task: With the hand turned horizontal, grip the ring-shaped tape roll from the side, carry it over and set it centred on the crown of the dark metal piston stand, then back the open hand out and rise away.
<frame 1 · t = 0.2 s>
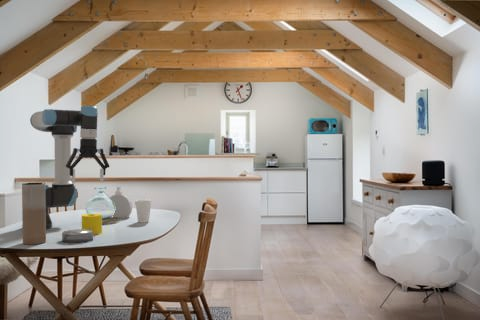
hand: (87, 182, 219), 28 cm above the table, tool pointing down, fingers open, 13 cm apart
tape roll: (91, 233, 236), on the table
vase: (34, 243, 212), on the table
foam cup: (143, 222, 271), on the table
piston stand: (77, 239, 218), on the table
soap bottle: (118, 217, 288), on the table
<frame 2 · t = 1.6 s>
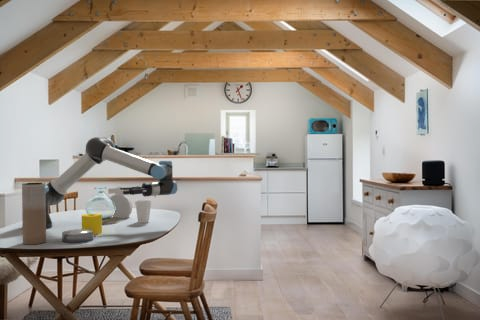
hand: (112, 192, 241), 21 cm above the table, tool horizontal, fingers open, 13 cm apart
nothing on the table moved.
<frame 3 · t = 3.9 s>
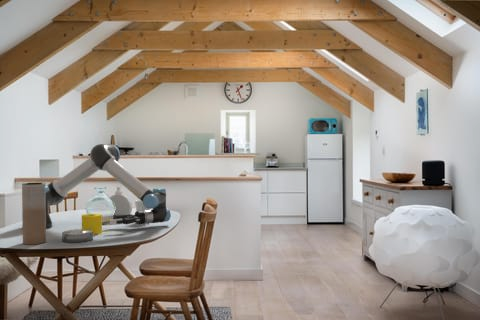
hand: (105, 220, 239), 6 cm above the table, tool horizontal, fingers open, 13 cm apart
nothing on the table moved.
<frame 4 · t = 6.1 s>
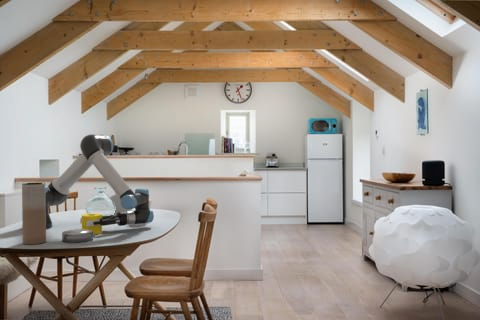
hand: (83, 222, 233), 6 cm above the table, tool horizontal, fingers closed on tape roll, 10 cm apart
tape roll: (91, 233, 236), on the table, touching gripper
everything else where it was.
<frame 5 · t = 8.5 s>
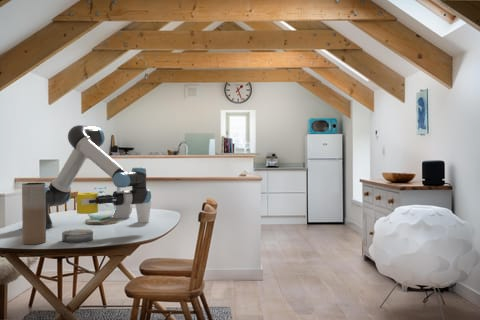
hand: (78, 200, 224), 18 cm above the table, tool horizontal, fingers closed on tape roll, 10 cm apart
tape roll: (87, 212, 227), point 12 cm above the table, touching gripper
everything else where it was.
when the fingers open (11 cm above the table, at t = 11.1 s): tape roll drops 1 cm, resting on piston stand.
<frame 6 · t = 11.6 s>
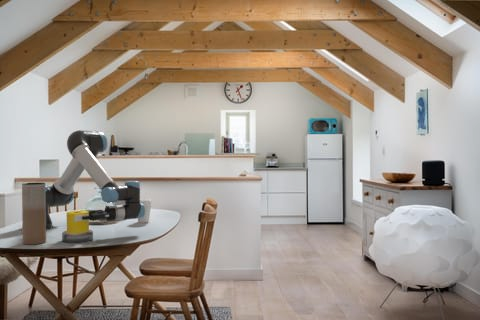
hand: (70, 216, 216), 11 cm above the table, tool horizontal, fingers open, 13 cm apart
tape roll: (77, 232, 218), point 4 cm above the table, touching piston stand
everything else where it was.
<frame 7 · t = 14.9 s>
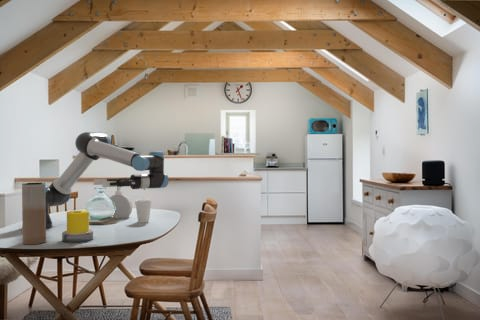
hand: (98, 183, 223), 27 cm above the table, tool horizontal, fingers open, 13 cm apart
nothing on the table moved.
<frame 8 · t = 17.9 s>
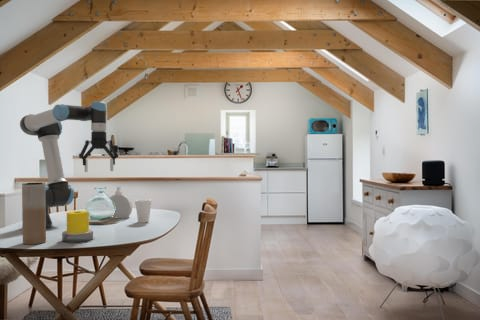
hand: (99, 171, 240), 32 cm above the table, tool pointing down, fingers open, 13 cm apart
nothing on the table moved.
at the end: tape roll 0.2 cm from the piston stand (horizontally); tape roll point 3.8 cm above the table; tape roll tilted 0° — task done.
